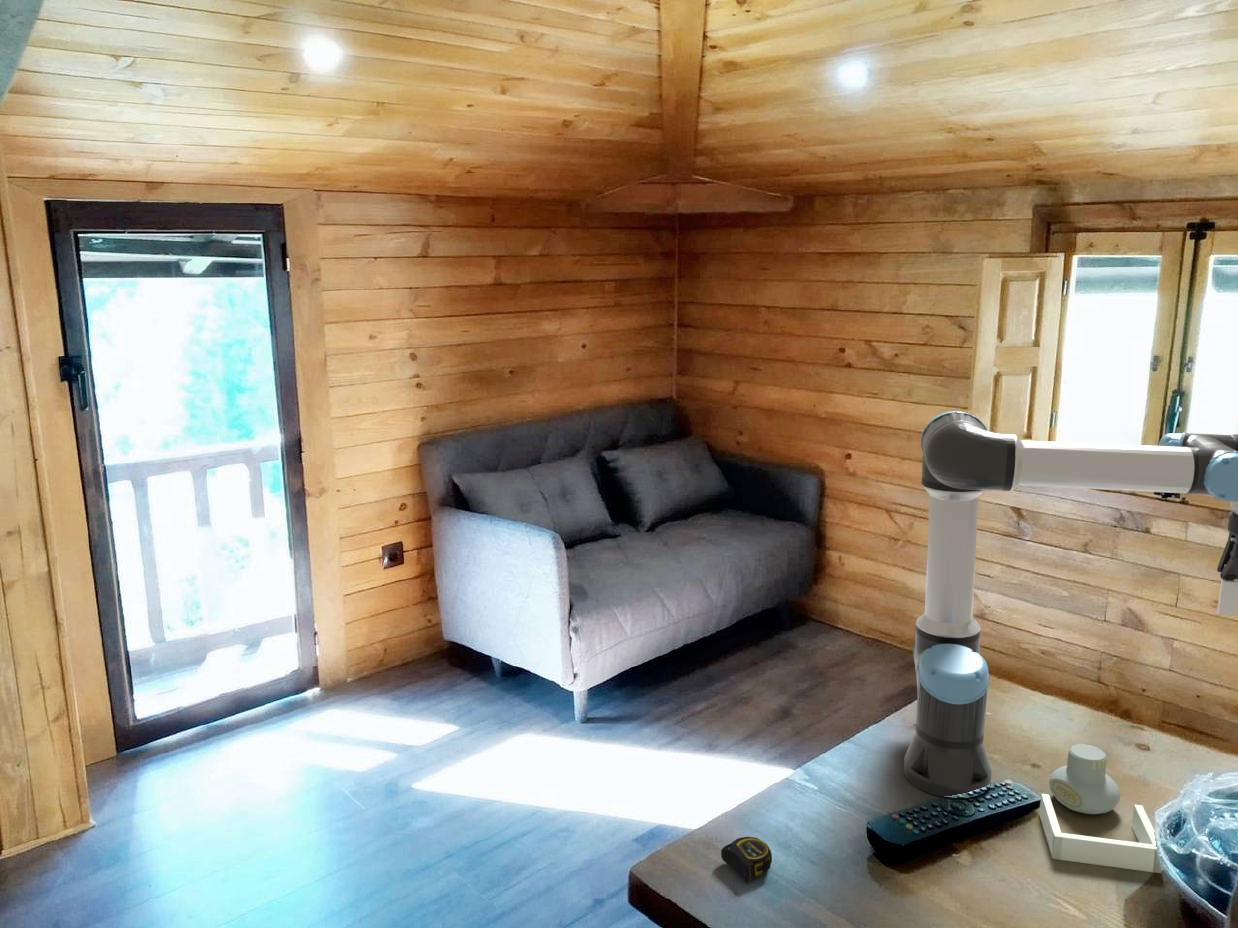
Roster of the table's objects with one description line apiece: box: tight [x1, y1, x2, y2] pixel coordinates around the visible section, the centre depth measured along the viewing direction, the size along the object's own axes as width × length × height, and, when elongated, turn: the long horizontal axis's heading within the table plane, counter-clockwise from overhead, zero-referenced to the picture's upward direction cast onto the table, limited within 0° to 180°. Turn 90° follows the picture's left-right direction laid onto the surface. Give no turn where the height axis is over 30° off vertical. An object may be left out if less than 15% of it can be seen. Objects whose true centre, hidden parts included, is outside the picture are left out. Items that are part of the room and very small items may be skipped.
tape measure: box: [720, 836, 773, 883], centre depth 146 cm, size 7×7×4 cm
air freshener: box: [1048, 743, 1121, 815], centre depth 161 cm, size 11×8×10 cm
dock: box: [1039, 793, 1163, 874], centre depth 151 cm, size 15×12×4 cm
